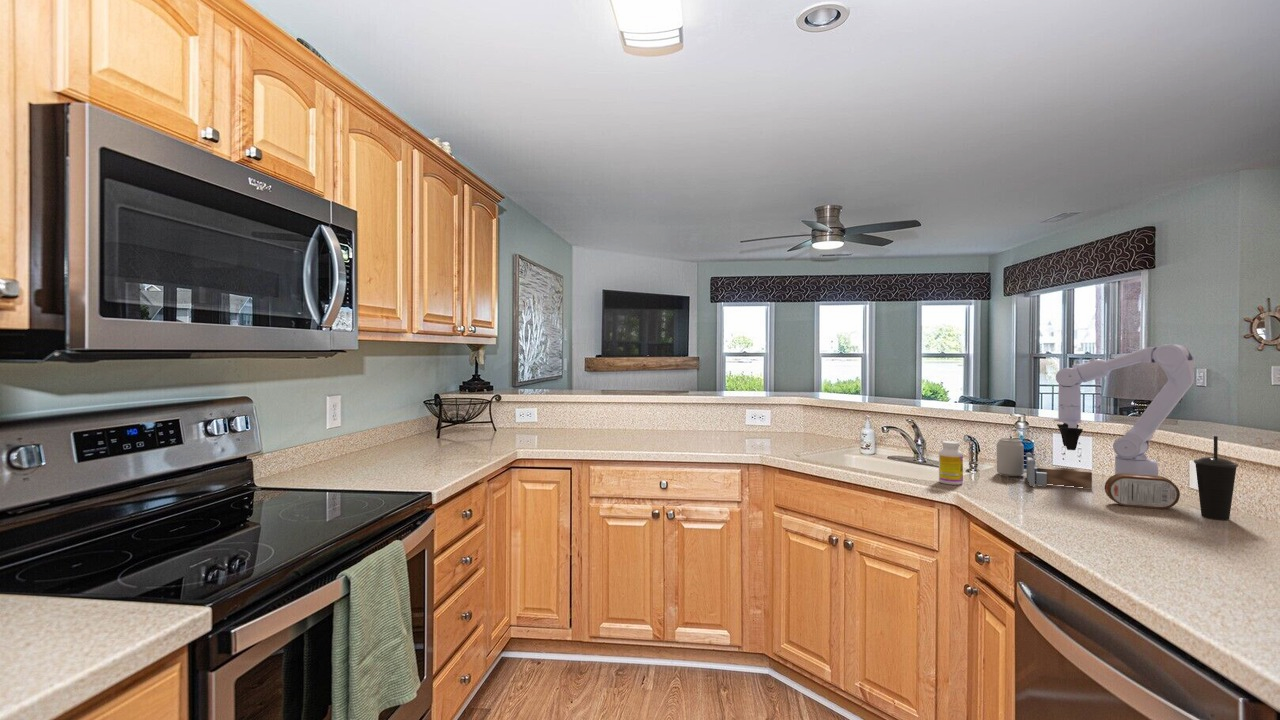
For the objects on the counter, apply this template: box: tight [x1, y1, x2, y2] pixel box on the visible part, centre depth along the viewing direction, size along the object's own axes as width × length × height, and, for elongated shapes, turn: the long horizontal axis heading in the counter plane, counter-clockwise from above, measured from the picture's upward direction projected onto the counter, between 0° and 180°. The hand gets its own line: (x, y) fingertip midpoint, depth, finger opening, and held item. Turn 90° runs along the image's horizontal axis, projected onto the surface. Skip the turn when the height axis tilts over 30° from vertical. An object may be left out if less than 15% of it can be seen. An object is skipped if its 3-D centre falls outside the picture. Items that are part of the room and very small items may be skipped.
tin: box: [1104, 473, 1181, 510], centre depth 149 cm, size 15×3×8 cm, turn 65°
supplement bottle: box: [938, 440, 964, 486], centre depth 177 cm, size 7×7×13 cm
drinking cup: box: [1193, 435, 1239, 521], centre depth 139 cm, size 8×8×20 cm
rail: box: [1036, 465, 1093, 489], centre depth 173 cm, size 13×4×5 cm, turn 59°
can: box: [996, 437, 1025, 477], centre depth 187 cm, size 8×8×12 cm
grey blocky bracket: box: [1025, 452, 1048, 488], centre depth 176 cm, size 5×14×8 cm, turn 149°
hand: (1069, 448), depth 181 cm, fingers open, 7 cm apart
